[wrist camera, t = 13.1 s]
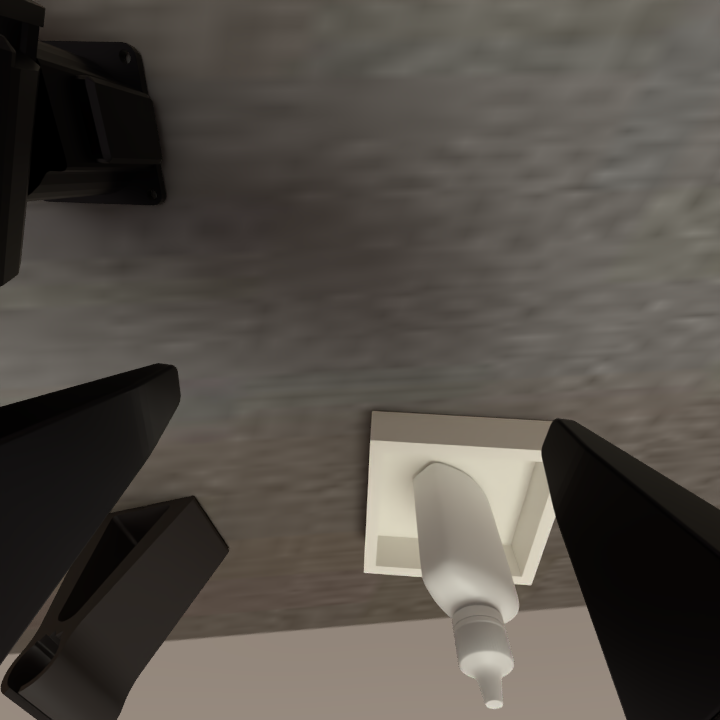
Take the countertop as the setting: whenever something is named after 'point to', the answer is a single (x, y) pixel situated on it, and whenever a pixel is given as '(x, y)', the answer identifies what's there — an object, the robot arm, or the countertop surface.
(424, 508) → the eye dropper bottle
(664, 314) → the countertop surface
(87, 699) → the phone stand
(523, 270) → the countertop surface
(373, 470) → the tray
